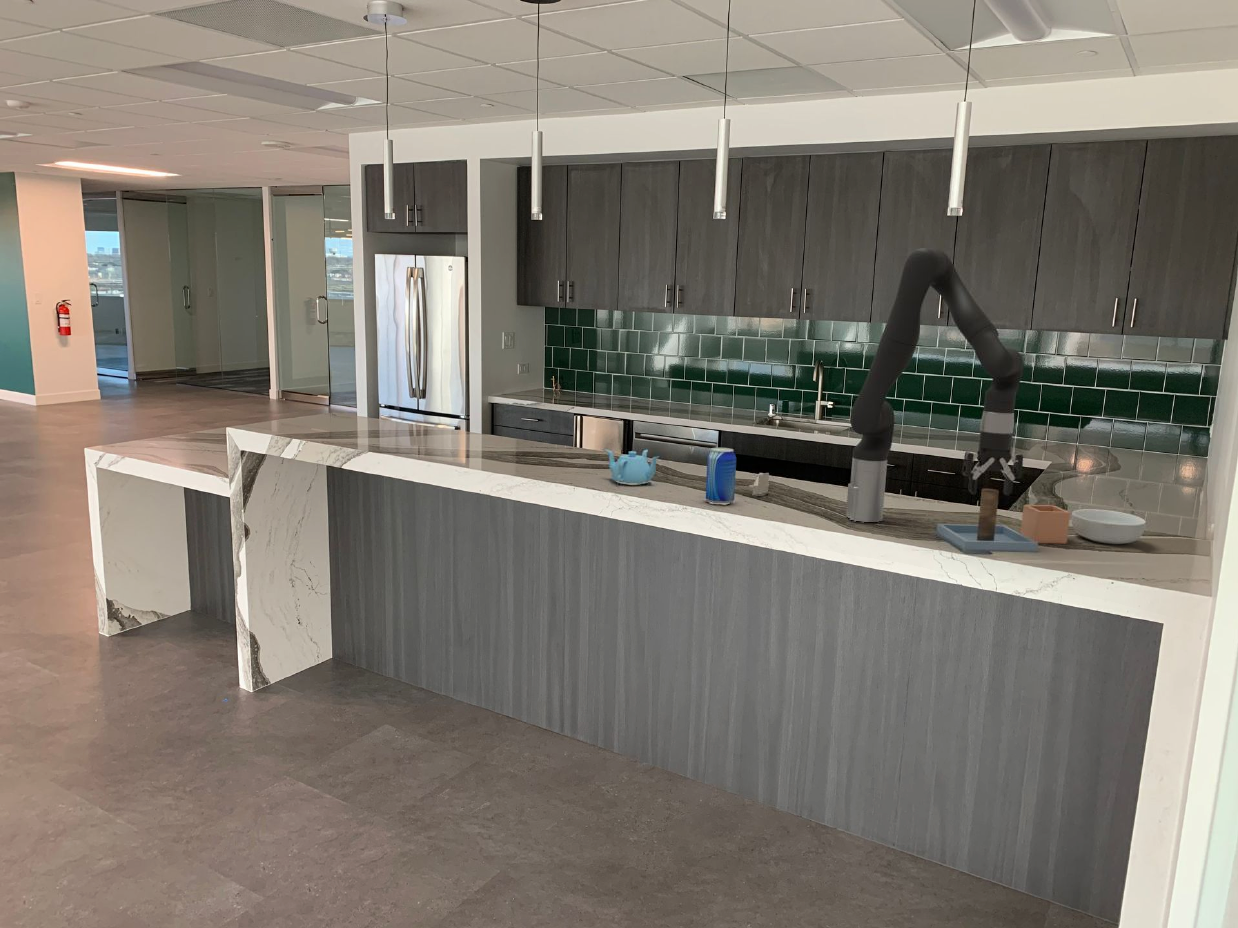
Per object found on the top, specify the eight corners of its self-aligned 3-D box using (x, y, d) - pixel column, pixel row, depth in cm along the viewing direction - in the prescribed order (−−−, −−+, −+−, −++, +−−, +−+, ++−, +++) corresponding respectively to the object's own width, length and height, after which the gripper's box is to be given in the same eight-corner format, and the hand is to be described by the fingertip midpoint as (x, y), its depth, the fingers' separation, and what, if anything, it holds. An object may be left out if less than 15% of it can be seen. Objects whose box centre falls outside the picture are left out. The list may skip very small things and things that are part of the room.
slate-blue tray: (964, 553, 225) (965, 541, 224) (936, 535, 242) (937, 523, 242) (1036, 554, 225) (1038, 542, 225) (1003, 536, 243) (1004, 525, 243)
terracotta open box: (1035, 545, 234) (1038, 511, 233) (1020, 537, 242) (1023, 504, 241) (1066, 546, 235) (1070, 512, 233) (1050, 538, 243) (1054, 505, 241)
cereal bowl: (1058, 540, 240) (1062, 514, 239) (1082, 531, 252) (1085, 506, 251) (1130, 554, 229) (1133, 526, 227) (1151, 544, 240) (1154, 517, 239)
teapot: (614, 487, 291) (615, 455, 290) (603, 478, 306) (604, 447, 304) (659, 487, 295) (660, 455, 293) (646, 478, 309) (647, 447, 307)
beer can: (719, 507, 268) (722, 452, 265) (699, 501, 274) (701, 448, 271) (739, 503, 273) (742, 450, 270) (719, 498, 279) (722, 446, 277)
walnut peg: (980, 542, 232) (985, 491, 229) (974, 538, 236) (979, 488, 233) (996, 542, 232) (1001, 492, 229) (989, 538, 236) (994, 488, 233)
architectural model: (748, 497, 285) (749, 473, 284) (760, 494, 291) (761, 470, 289) (757, 499, 283) (759, 475, 282) (769, 495, 288) (771, 472, 287)
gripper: (974, 431, 225) (967, 496, 228) (1032, 433, 225) (1024, 498, 228) (962, 427, 232) (955, 490, 235) (1017, 428, 233) (1010, 491, 236)
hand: (989, 494), depth 232 cm, fingers open, 8 cm apart
